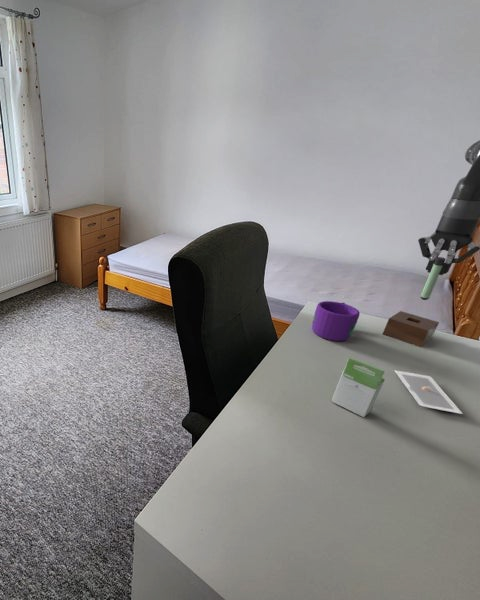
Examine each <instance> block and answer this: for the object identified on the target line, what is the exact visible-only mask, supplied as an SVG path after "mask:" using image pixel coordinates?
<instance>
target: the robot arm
mask: <svg viewBox="0 0 480 600" xmlns="http://www.w3.org/2000/svg"><path fill="white" fill-rule="evenodd" d="M464 159H465V161H466V162H467V163H468V164H469V165H471V167H470V168H469V170H468V172H467V174H466V175H465V176H463V177H461V178H460V179H459V180H458V181H457V183H456V185H455V187H454V189H453V192H452V194H451V196H450V199H449V200H448V202H447V204H446V206H445V207H444V209H443V210H442V215H441V217H440V220H439V222H438V224H437V227H436V229H435V231H434V232H433V233H432V234H431V235H430V236H423V237H420V238H418V240H417V241H418V244H419V249H420V252H421V255H422V258H426V259H428V262H427V265H426V267H425V271H427V273H428V274H430V272H431V270H432V267H433V265H434V262H435V260H436V258H437V257H440V254H441V253H442V251H446V252H447V255H446V258H445V259H446V260H445V262H444V264H443V266H442V269H441V271H440V273H439V276H443V275H446V274H448V273H449V271H450V270H451V267H452V265H453V264H460V263H461V262H463V261H465V260H466V259H468V258H469V257H471V256H473V255H474V254H476V253H477V252H479V251H480V245H479V244H476V243H474V242H473V240H474V239H473V234H474V233H475V231H476V229H477V227H478V225H479V222H480V139H479V140H477V141H476V142H474V143H472V144H471V145H470V146H469V147H468V148H467V149H466V151H465V153H464ZM431 242H432V244H433V246H434V249H433V251H432V252H431V249H430V246H429V244H430V243H431ZM465 247H467V248H466V251H467V252H465V253H463V254H462V255H461V256H459V257H456V256H457V254H458V251H459V250H461V249H463V248H465Z"/></svg>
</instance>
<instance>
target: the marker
mask: <svg viewBox="0 0 480 600" xmlns="http://www.w3.org/2000/svg"><path fill="white" fill-rule="evenodd" d="M445 262H446V258H445V257H442V256H438V257H437V258H436V260H435V262H434V265H433V267H432V270H431V272H430V273H428V274H429V275H428V277H427V279H426V282H425V284H424V287H423V290H422V292H421V294H420V299H421V300H423V301H427V300H429V299H430V298H431V294H432V292H433V291H434V288H435V286H436V283H437V281H438V279H439V276H440V275H439V273H440V271H441V269H442V266H443V264H444V263H445Z"/></svg>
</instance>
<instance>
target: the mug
mask: <svg viewBox="0 0 480 600" xmlns="http://www.w3.org/2000/svg"><path fill="white" fill-rule="evenodd" d="M360 315H361V314H360V311H359V310H358V308H356V307H354V306H352V305H349V304H346V303H345V302H338V301H332V300H325V301H320V302H319V303H317V304H316V308H315V311H314V315H313V320H312V324H311V329H312V332H313V333H314V334H315V335H317V336H318V337H320V338H322V339H325V340H328V341H332V342H343V341H346V340H348V339H349V338H350V337H351V336H352V334H353V332H354V330H355V328H356V326H357V323H358V320H359V317H360Z"/></svg>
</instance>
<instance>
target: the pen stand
mask: <svg viewBox="0 0 480 600" xmlns="http://www.w3.org/2000/svg"><path fill="white" fill-rule="evenodd" d="M439 324H440V322H439V321H436V320H433V319H430V318H427V317H422V316H420V315H415V314H412V313H409V312H406V311H402V310H400V311H398V312H396V313H395V314H393V315H392V316H390V317H389V318H388V319H387V322H386V325H385V327H384V329H383V332H382V335H383V336H386V337H390V338H393V339H396V340H398V339H399V340H398V341H401V340H402V341H401V342H404V343H407V344H409V345H413V344H414V345H413V346H416V347H418V346H419V348H422V347H423V346H424V345H426V344H427V343H428V342H429V341H430V340H431V339H432V338H433V336H434V334H435V332H436V330H437V328H438V326H439ZM428 340H429V341H428ZM427 341H428V342H427ZM421 346H422V347H421Z"/></svg>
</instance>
